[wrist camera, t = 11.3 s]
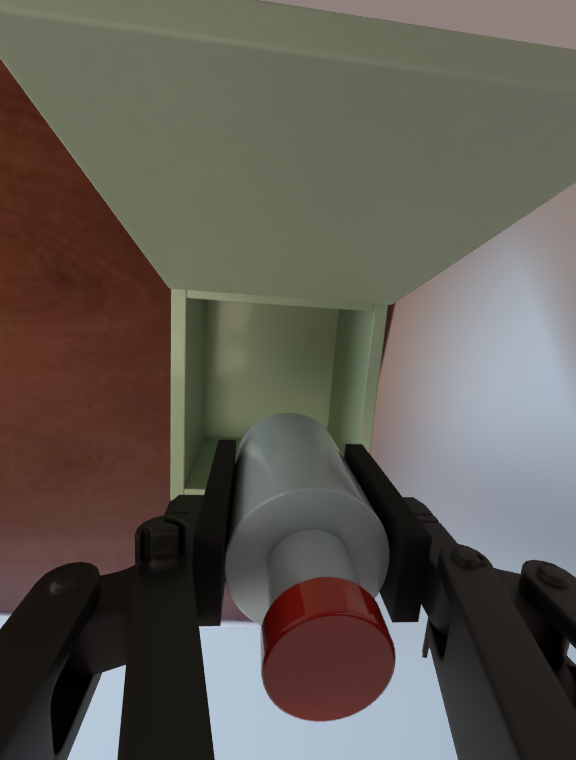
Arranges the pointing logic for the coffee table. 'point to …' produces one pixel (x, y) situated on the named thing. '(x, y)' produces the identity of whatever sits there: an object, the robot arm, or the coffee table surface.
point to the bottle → (308, 570)
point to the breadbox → (267, 371)
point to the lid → (296, 137)
